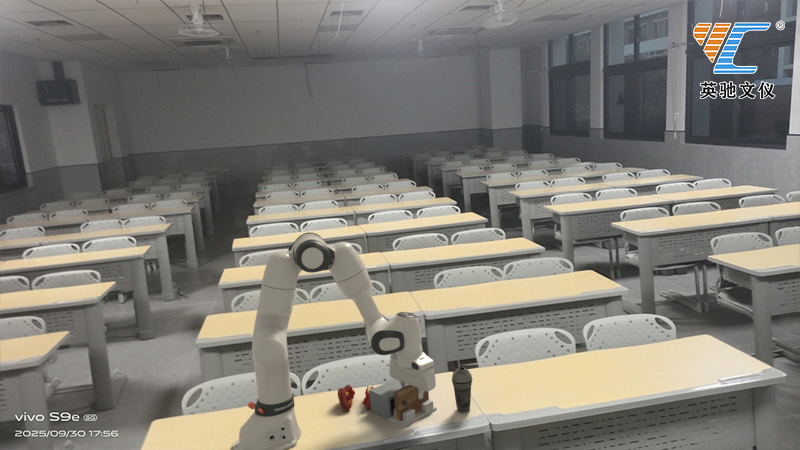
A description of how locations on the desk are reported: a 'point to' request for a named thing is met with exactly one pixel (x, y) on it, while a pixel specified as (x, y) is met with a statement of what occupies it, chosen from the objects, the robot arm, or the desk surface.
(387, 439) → the desk surface
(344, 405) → the teeth
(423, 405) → the cabinet
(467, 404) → the beverage cup
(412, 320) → the robot arm
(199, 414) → the desk surface
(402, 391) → the door
